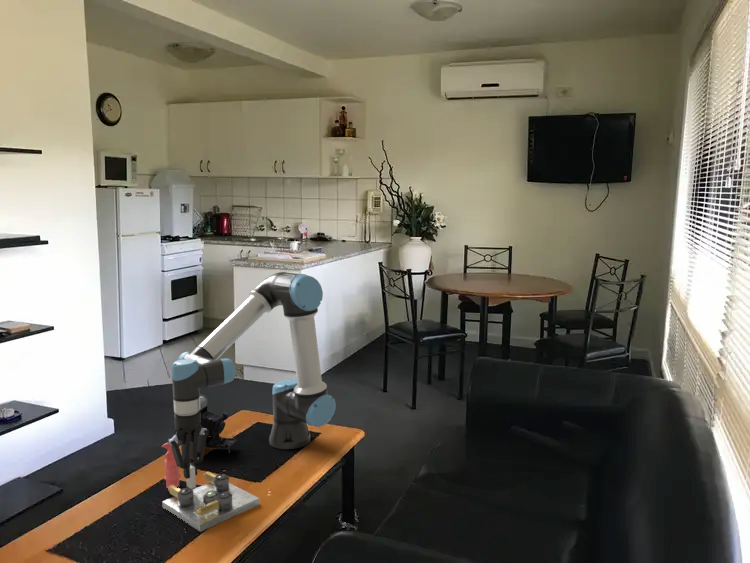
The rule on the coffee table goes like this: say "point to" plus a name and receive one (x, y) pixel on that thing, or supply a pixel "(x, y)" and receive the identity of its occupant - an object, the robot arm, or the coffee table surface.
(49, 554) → the coffee table surface
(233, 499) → the tribrach plate
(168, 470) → the figurine
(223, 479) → the screw
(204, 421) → the vintage camera
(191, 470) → the robot arm
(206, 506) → the screw side
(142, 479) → the coffee table surface
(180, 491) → the screw
